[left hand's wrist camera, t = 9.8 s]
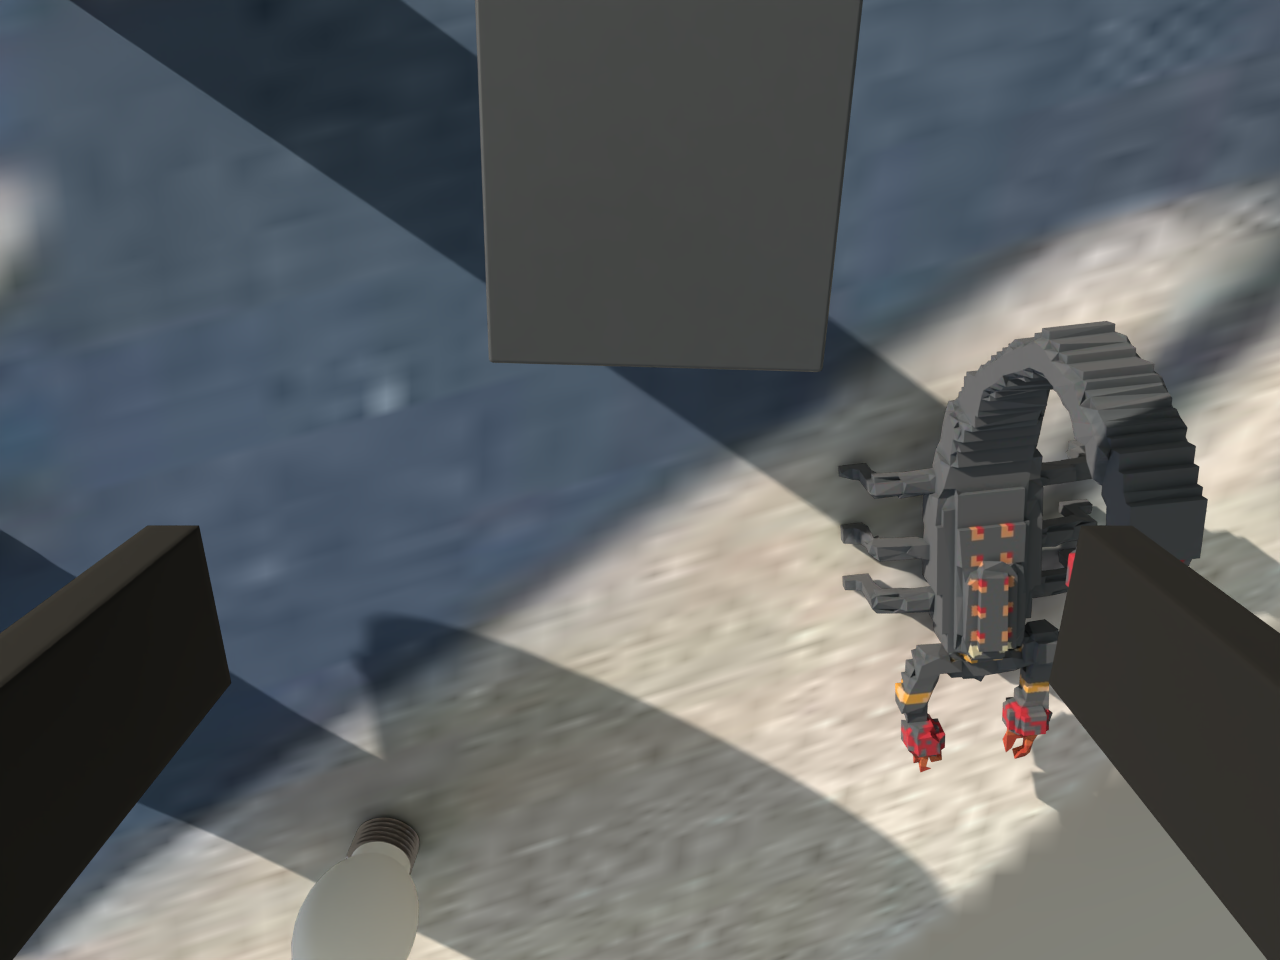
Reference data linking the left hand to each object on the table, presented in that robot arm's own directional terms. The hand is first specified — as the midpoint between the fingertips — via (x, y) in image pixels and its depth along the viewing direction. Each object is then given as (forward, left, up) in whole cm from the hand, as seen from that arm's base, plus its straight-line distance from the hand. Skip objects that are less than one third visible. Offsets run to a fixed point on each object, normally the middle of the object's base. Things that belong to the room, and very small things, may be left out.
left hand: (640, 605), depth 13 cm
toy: (+13, -17, -31) cm, 38 cm away
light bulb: (-25, -29, -31) cm, 50 cm away
